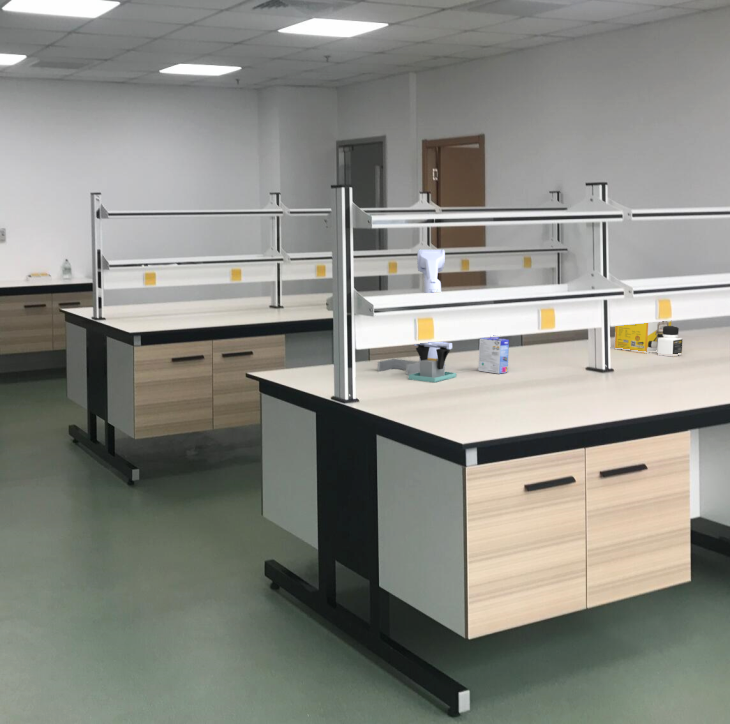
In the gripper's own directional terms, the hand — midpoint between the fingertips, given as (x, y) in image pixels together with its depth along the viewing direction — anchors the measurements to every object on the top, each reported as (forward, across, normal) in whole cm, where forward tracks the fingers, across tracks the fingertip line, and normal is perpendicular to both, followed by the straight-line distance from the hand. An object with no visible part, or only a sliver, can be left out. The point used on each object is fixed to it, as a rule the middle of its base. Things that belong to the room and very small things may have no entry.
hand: (432, 367), depth 338 cm
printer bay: (+4, -17, +4) cm, 18 cm away
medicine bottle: (+4, +46, +105) cm, 115 cm away
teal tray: (+4, 0, 0) cm, 4 cm away
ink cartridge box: (+4, +10, +25) cm, 27 cm away
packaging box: (+4, +31, +114) cm, 118 cm away
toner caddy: (+3, 0, 0) cm, 3 cm away
